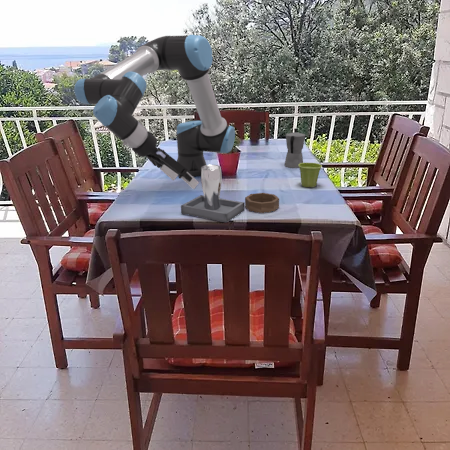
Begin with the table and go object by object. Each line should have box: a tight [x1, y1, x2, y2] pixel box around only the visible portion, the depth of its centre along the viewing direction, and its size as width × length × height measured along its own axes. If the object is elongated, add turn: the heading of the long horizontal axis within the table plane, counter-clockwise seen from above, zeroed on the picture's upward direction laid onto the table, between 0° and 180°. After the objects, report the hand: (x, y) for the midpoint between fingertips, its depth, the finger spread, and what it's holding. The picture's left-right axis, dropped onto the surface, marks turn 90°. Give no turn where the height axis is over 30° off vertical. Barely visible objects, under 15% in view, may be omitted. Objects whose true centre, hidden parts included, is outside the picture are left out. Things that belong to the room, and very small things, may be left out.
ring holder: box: [244, 192, 280, 214], centre depth 155 cm, size 11×11×4 cm
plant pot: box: [298, 162, 323, 188], centre depth 177 cm, size 9×9×9 cm
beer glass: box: [200, 164, 223, 211], centre depth 148 cm, size 7×7×15 cm
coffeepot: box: [284, 127, 306, 169], centre depth 205 cm, size 15×9×18 cm, turn 160°
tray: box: [180, 194, 245, 223], centre depth 151 cm, size 18×13×3 cm
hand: (185, 181), depth 142 cm, fingers open, 13 cm apart
